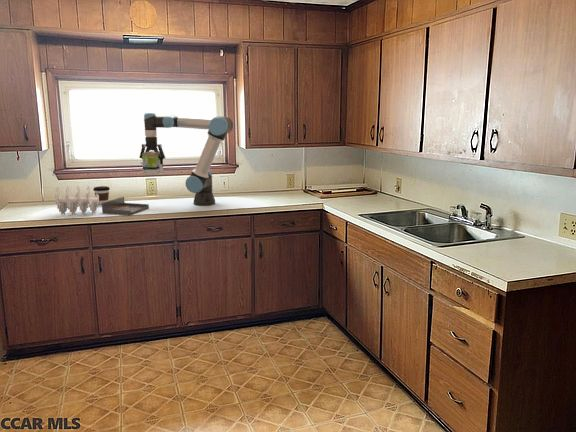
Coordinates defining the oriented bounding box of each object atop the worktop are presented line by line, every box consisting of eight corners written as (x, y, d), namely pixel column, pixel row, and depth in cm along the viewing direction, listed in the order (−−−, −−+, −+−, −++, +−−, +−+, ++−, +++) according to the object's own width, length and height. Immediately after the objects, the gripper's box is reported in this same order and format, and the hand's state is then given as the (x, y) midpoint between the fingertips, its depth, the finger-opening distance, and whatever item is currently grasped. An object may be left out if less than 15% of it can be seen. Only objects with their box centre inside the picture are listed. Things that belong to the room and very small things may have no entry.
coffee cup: (105, 206, 327) (104, 188, 324) (91, 205, 329) (89, 188, 327) (114, 203, 337) (112, 186, 335) (100, 202, 340) (98, 185, 337)
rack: (148, 208, 319) (148, 198, 318) (129, 215, 299) (129, 204, 297) (122, 206, 325) (122, 196, 323) (102, 213, 304) (101, 202, 302)
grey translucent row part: (97, 220, 302) (55, 220, 297) (101, 204, 316) (60, 203, 310) (94, 197, 291) (50, 196, 286) (98, 181, 305) (56, 180, 299)
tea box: (157, 174, 318) (156, 152, 315) (142, 174, 318) (141, 152, 315) (163, 172, 332) (162, 150, 329) (149, 172, 333) (148, 150, 329)
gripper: (169, 136, 320) (171, 168, 325) (138, 135, 326) (141, 167, 331) (163, 137, 313) (165, 170, 318) (132, 136, 319) (134, 169, 324)
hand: (153, 168), depth 325 cm, fingers closed on tea box, 11 cm apart
